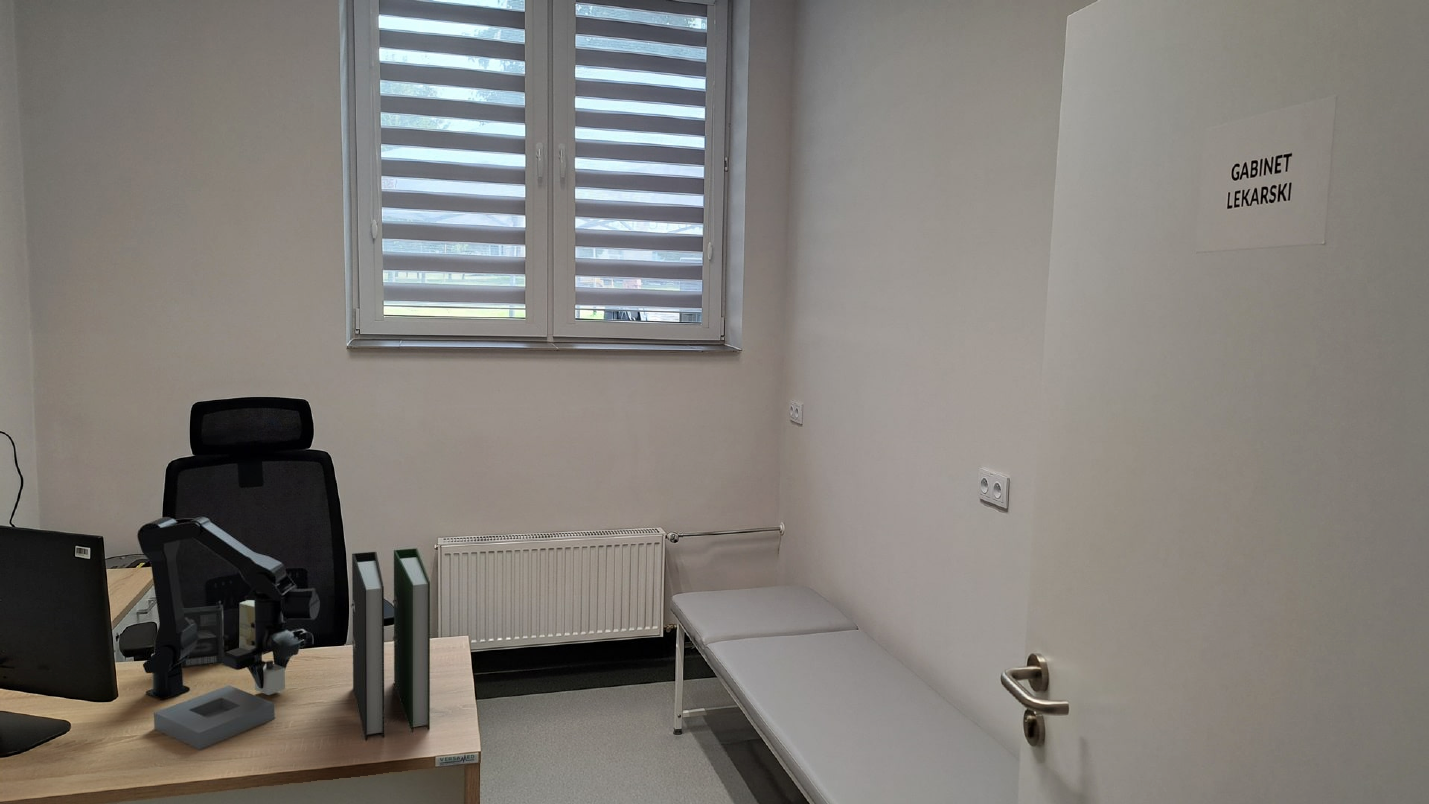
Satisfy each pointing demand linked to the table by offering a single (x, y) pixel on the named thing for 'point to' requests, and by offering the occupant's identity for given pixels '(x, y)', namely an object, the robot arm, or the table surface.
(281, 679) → the plug
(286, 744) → the table surface
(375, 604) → the books
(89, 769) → the table surface
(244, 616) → the skincare box
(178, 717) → the socket
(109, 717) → the table surface
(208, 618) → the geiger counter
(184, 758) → the table surface
